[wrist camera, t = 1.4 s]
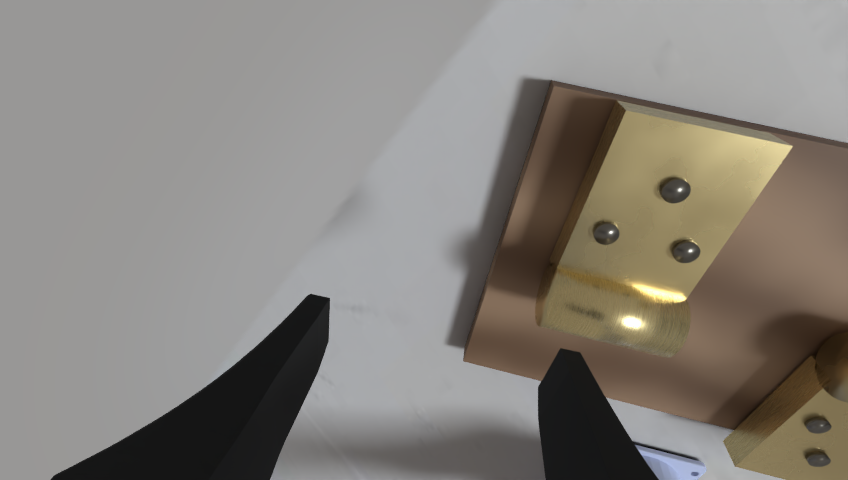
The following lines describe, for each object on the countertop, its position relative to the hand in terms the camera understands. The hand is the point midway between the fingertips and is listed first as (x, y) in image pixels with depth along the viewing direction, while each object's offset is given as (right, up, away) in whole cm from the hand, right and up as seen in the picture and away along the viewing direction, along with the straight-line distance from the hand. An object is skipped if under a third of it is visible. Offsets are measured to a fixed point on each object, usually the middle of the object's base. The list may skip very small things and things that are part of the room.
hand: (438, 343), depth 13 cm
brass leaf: (+9, +4, +6) cm, 12 cm away
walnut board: (+15, 0, +9) cm, 18 cm away
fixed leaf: (+23, -6, +10) cm, 25 cm away
